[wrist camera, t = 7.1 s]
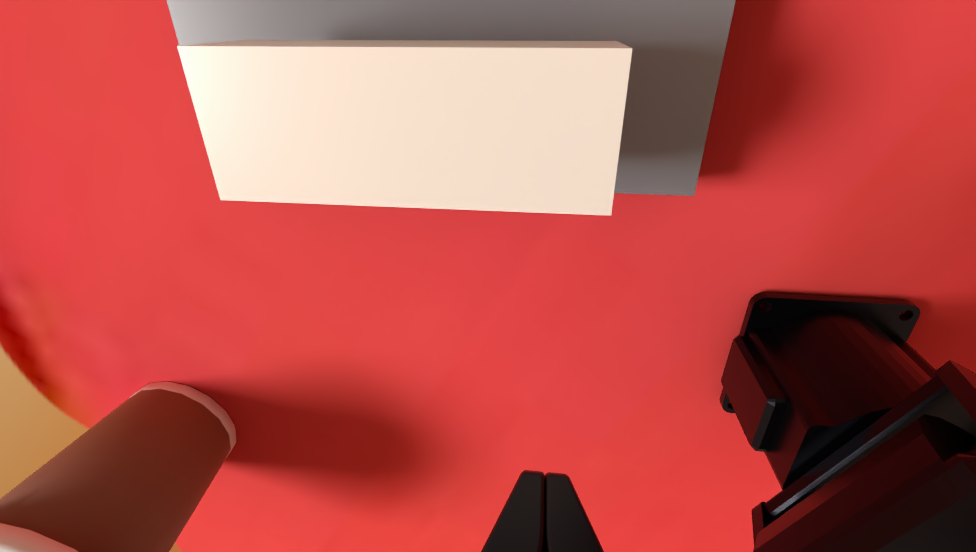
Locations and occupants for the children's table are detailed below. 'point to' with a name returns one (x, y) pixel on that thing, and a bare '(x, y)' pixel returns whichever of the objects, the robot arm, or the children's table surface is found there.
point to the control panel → (531, 17)
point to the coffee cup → (123, 477)
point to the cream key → (413, 122)
